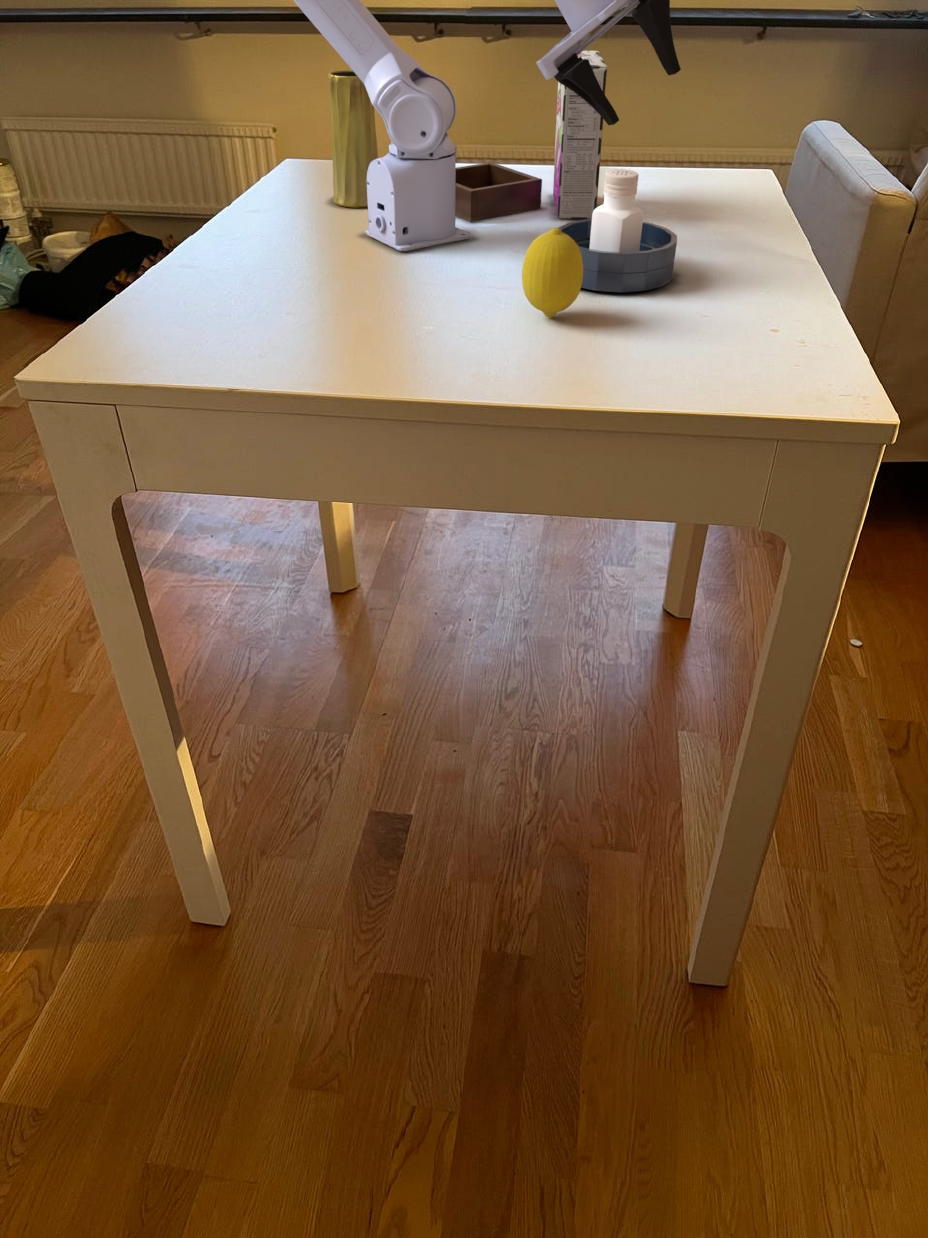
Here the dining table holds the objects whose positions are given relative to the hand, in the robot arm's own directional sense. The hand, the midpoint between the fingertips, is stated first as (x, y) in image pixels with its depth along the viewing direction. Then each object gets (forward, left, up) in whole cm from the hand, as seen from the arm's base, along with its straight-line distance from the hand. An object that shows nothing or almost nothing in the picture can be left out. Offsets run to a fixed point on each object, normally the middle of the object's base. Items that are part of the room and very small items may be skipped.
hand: (644, 97), depth 99 cm
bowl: (-8, -7, -15) cm, 18 cm away
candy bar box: (+5, +15, -15) cm, 22 cm away
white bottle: (-8, -7, -15) cm, 18 cm away
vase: (-16, +32, -15) cm, 39 cm away
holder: (-4, +22, -15) cm, 27 cm away
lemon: (-21, -13, -15) cm, 29 cm away
